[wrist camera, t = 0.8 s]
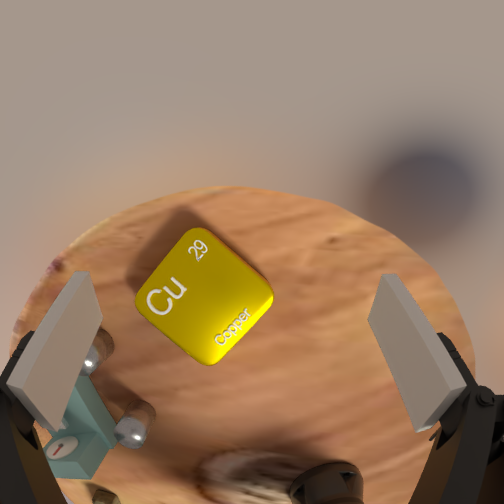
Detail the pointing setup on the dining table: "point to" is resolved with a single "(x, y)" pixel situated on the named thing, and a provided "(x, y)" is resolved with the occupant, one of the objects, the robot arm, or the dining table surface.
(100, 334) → the cylinder
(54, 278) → the dining table surface
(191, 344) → the element tile
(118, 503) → the stone block
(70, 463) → the scale body
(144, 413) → the cylinder
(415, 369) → the robot arm
